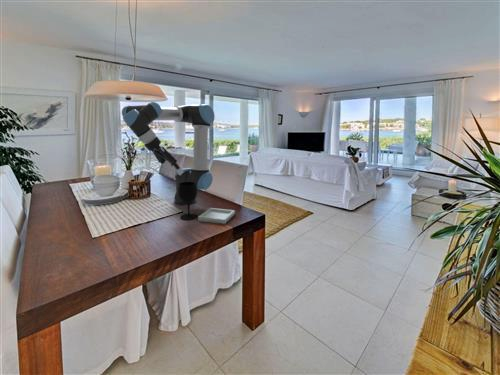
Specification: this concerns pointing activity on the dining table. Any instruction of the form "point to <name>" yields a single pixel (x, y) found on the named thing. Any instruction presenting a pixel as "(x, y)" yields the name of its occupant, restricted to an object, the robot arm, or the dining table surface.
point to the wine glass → (188, 198)
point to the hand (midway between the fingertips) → (176, 172)
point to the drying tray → (216, 215)
